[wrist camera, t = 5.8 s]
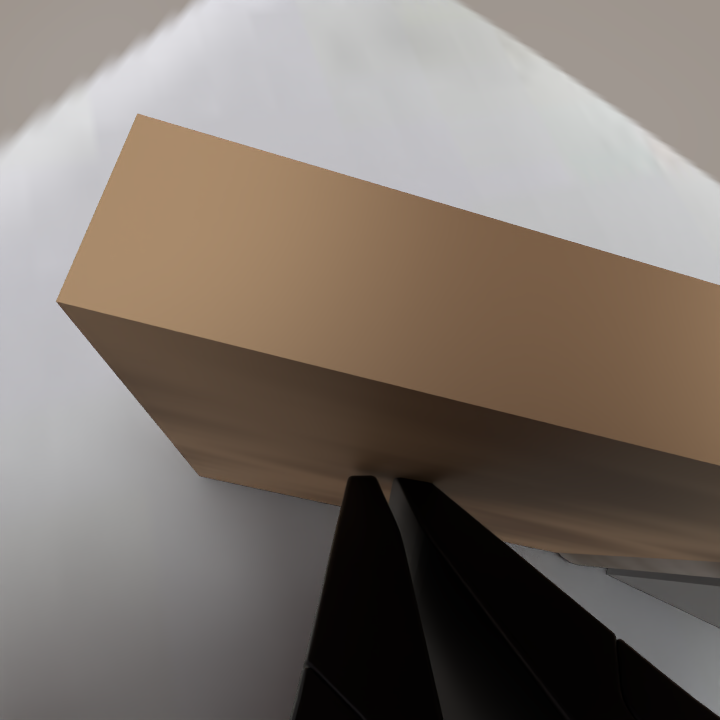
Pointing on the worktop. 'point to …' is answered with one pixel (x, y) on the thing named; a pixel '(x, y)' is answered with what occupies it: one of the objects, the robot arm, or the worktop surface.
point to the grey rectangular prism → (677, 591)
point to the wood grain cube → (405, 350)
